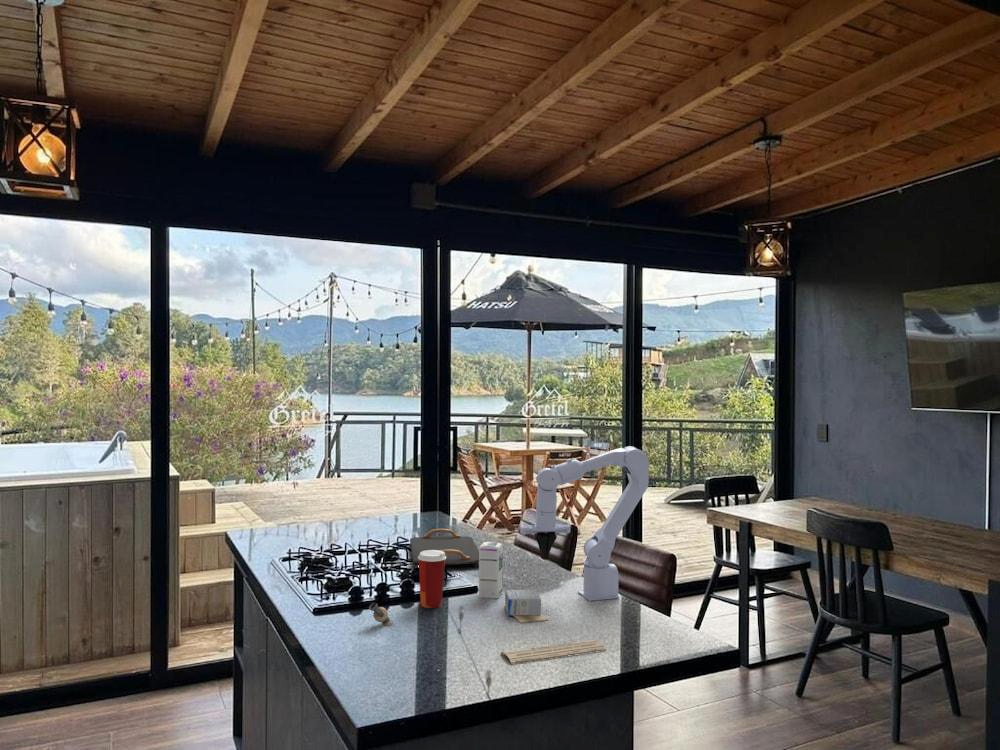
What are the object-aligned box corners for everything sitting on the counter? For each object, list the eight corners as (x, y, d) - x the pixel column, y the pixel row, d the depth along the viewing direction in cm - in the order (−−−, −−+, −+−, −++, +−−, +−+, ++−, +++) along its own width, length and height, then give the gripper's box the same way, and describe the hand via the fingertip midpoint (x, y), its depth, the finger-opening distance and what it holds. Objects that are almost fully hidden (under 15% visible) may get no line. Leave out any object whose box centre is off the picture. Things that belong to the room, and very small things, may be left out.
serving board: (485, 571, 227) (485, 552, 227) (412, 573, 223) (412, 553, 223) (471, 542, 265) (471, 526, 265) (408, 543, 261) (409, 526, 261)
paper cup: (450, 602, 193) (451, 551, 193) (436, 611, 186) (437, 557, 186) (425, 598, 196) (426, 548, 196) (411, 606, 189) (412, 554, 189)
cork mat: (530, 604, 193) (530, 603, 193) (548, 620, 181) (548, 619, 181) (504, 606, 191) (504, 605, 191) (520, 623, 178) (520, 621, 178)
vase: (373, 631, 171) (372, 606, 171) (365, 626, 176) (364, 601, 176) (394, 627, 174) (393, 602, 174) (386, 622, 178) (385, 598, 179)
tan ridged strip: (511, 667, 153) (511, 659, 153) (498, 655, 159) (499, 647, 159) (606, 654, 162) (606, 646, 162) (590, 642, 168) (591, 635, 168)
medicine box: (536, 605, 191) (504, 606, 191) (537, 589, 191) (505, 589, 191) (541, 615, 183) (507, 616, 183) (541, 598, 183) (507, 598, 183)
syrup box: (498, 599, 197) (499, 547, 197) (477, 597, 198) (478, 545, 198) (502, 593, 203) (503, 542, 203) (482, 591, 204) (483, 541, 204)
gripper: (564, 507, 207) (562, 554, 207) (517, 508, 203) (515, 556, 203) (574, 512, 201) (572, 560, 201) (525, 513, 196) (524, 562, 196)
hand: (544, 558), depth 201 cm, fingers closed
